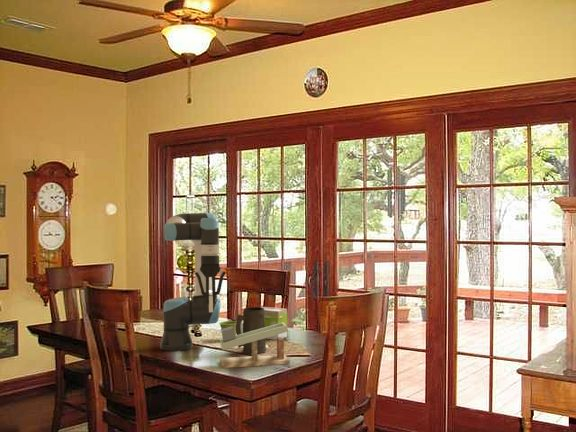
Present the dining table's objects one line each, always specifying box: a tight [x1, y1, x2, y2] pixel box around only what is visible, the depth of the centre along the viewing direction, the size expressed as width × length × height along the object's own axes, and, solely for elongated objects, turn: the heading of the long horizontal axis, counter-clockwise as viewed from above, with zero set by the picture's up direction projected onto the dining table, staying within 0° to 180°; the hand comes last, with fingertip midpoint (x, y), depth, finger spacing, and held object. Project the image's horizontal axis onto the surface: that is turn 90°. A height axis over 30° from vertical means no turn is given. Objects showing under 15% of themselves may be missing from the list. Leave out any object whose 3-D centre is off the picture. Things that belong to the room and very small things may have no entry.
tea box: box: [260, 306, 288, 341], centre depth 313 cm, size 15×10×15 cm, turn 62°
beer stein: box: [236, 306, 267, 354], centre depth 279 cm, size 15×11×20 cm
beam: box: [219, 322, 289, 351], centre depth 259 cm, size 28×8×3 cm, turn 100°
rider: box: [220, 326, 236, 342], centre depth 257 cm, size 5×5×6 cm
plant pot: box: [219, 320, 237, 335], centre depth 308 cm, size 9×9×9 cm
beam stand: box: [219, 337, 291, 369], centre depth 259 cm, size 28×11×10 cm, turn 101°
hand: (210, 311), depth 255 cm, fingers closed
